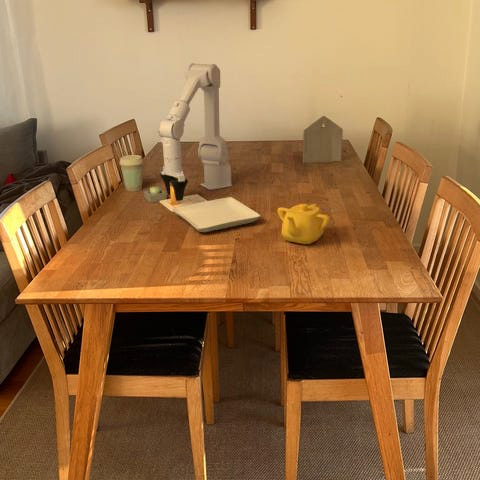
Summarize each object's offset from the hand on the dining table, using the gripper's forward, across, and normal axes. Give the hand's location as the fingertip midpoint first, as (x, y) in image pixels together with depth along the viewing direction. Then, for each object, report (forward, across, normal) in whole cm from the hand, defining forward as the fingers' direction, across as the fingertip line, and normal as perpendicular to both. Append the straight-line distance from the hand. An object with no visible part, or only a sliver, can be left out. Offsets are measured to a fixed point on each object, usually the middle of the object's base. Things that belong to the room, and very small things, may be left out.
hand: (175, 197), depth 192 cm
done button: (+3, -10, -4) cm, 11 cm away
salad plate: (+3, +20, +6) cm, 21 cm away
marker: (+2, 0, 0) cm, 2 cm away
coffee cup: (+3, -25, -6) cm, 26 cm away
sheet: (+3, 0, +4) cm, 4 cm away
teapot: (+3, +47, +20) cm, 51 cm away
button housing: (+3, -10, -4) cm, 11 cm away
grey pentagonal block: (+3, -24, +76) cm, 79 cm away
